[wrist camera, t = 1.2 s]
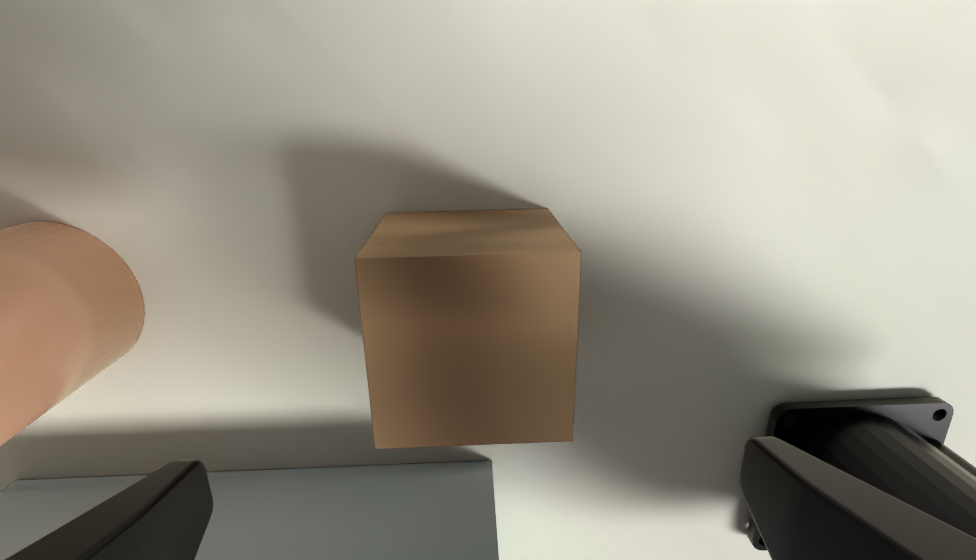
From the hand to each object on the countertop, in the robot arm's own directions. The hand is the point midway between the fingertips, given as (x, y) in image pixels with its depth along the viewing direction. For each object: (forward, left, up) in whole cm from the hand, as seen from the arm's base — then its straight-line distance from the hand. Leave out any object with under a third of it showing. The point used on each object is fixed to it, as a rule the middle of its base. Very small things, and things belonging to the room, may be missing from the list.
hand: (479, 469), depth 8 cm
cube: (0, 0, -9) cm, 9 cm away
